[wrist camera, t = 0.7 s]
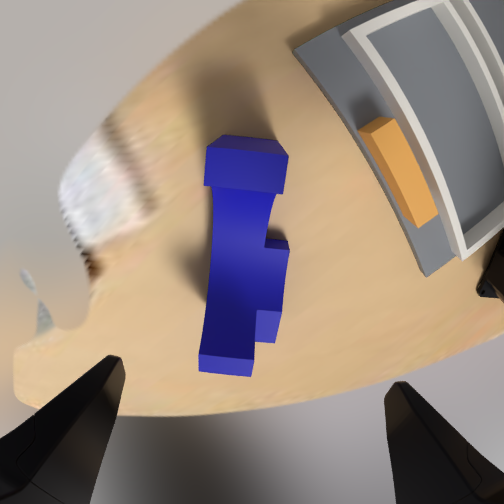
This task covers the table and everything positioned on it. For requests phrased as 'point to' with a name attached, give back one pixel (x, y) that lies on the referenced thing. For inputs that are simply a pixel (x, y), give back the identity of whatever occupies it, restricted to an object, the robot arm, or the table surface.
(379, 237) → the table surface
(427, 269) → the dock board
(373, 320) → the table surface
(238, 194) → the blue curved cradle
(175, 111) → the table surface
